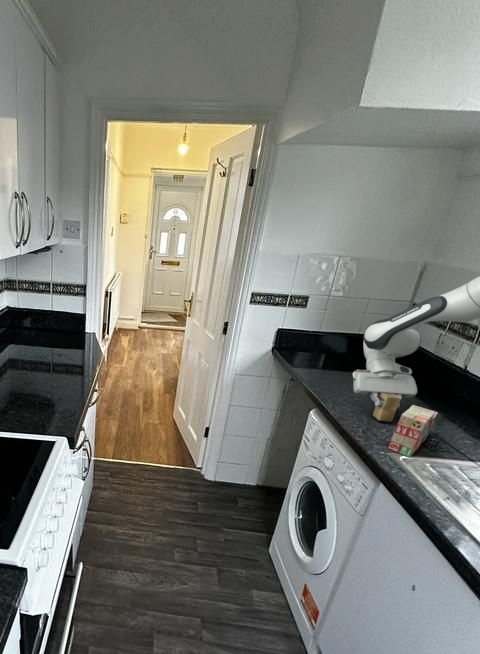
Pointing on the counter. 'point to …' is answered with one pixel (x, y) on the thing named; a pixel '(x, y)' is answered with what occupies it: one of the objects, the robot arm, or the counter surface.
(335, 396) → the counter surface
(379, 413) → the birch block
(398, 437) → the stack of blocks
